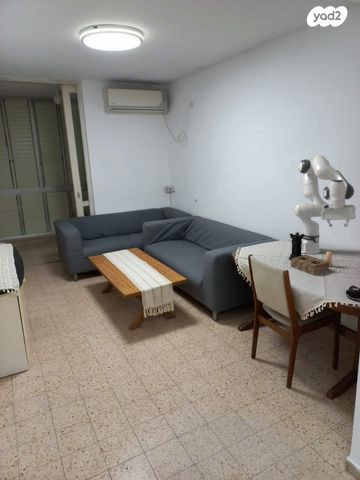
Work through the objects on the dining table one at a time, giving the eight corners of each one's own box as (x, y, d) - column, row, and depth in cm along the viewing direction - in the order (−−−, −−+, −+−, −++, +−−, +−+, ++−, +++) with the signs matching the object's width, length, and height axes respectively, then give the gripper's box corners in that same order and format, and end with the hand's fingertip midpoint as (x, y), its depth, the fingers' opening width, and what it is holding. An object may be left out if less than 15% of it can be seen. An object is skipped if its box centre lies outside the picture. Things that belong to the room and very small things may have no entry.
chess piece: (296, 257, 250) (297, 232, 244) (304, 260, 242) (305, 234, 237) (288, 259, 247) (288, 233, 242) (295, 262, 240) (296, 236, 234)
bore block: (290, 266, 232) (291, 258, 231) (305, 262, 238) (305, 254, 237) (313, 275, 215) (313, 266, 213) (328, 270, 221) (329, 262, 219)
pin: (324, 265, 230) (325, 252, 227) (328, 264, 231) (328, 251, 228) (328, 267, 227) (329, 253, 224) (332, 266, 228) (333, 252, 225)
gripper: (357, 204, 205) (357, 226, 207) (323, 205, 220) (324, 226, 221) (353, 204, 201) (354, 227, 202) (319, 206, 215) (320, 227, 217)
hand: (338, 226), depth 212 cm, fingers open, 8 cm apart
